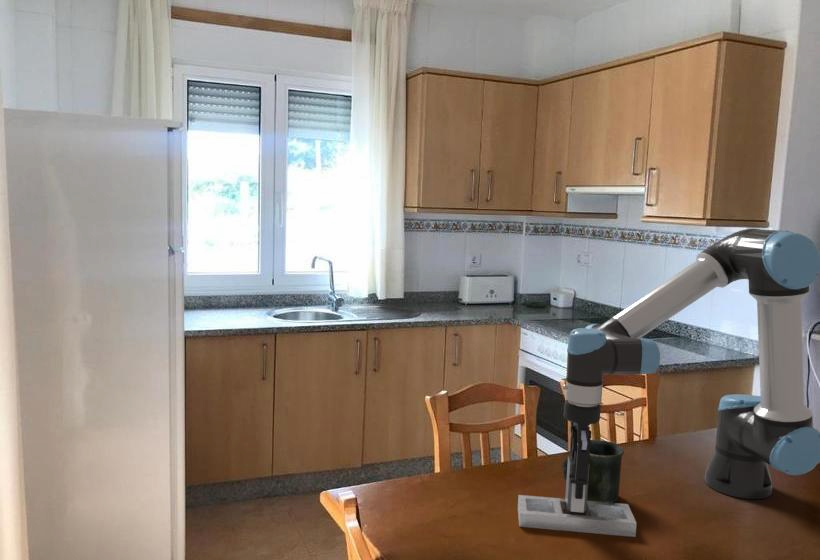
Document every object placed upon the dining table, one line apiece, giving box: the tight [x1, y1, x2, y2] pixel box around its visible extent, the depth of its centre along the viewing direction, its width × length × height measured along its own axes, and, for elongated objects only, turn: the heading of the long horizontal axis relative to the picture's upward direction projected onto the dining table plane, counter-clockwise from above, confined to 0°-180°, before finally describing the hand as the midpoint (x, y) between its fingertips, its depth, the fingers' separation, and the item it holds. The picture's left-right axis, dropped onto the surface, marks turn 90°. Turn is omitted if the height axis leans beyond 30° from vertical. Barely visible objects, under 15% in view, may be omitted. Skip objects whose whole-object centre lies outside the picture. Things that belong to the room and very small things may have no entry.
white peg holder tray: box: [517, 494, 638, 538], centre depth 147 cm, size 24×9×3 cm, turn 83°
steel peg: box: [564, 455, 589, 516], centre depth 147 cm, size 4×4×12 cm
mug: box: [561, 439, 625, 503], centre depth 160 cm, size 11×15×12 cm
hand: (575, 506), depth 147 cm, fingers closed on steel peg, 4 cm apart
